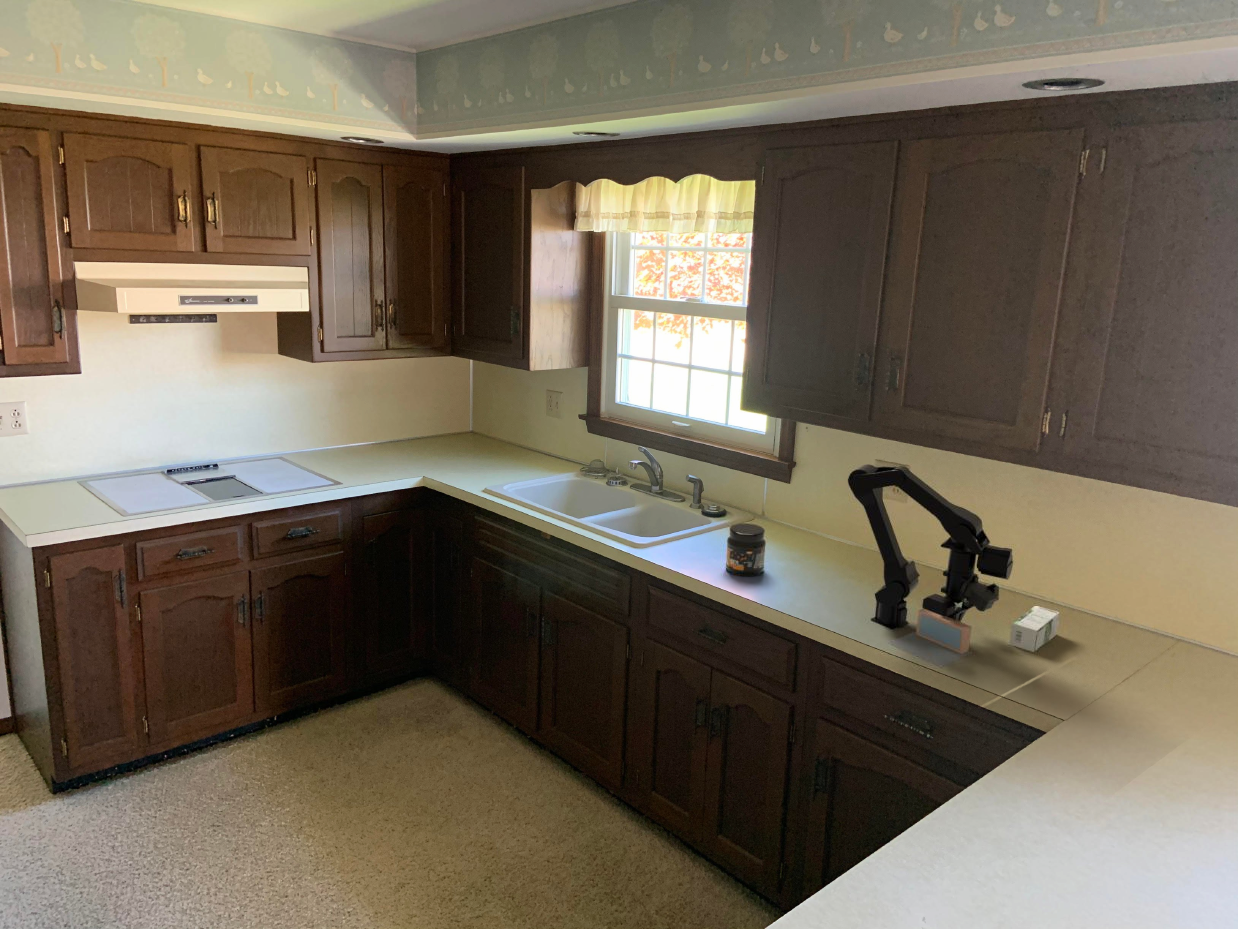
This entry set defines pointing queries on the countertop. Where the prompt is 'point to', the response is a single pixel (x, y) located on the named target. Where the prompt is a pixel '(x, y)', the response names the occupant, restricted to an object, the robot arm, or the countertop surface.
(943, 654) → the mat
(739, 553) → the supplement container
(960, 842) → the countertop surface
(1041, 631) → the syrup box
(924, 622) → the tile
